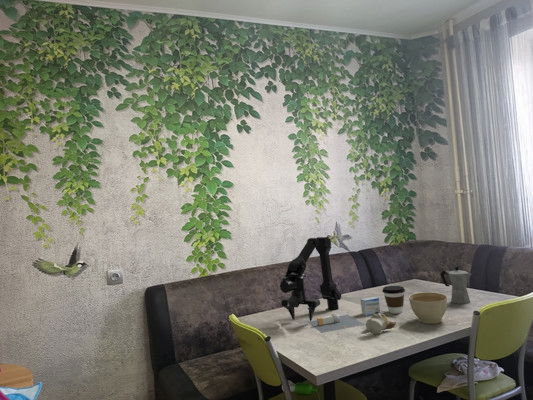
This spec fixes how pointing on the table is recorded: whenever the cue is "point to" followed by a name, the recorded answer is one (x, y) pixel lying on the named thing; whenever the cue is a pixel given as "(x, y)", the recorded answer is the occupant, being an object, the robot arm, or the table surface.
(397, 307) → the coffee cup
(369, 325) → the ceramic sculpture
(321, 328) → the dial board
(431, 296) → the planter bowl
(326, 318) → the white and tan block
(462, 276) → the coffeepot
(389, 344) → the table surface
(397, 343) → the table surface
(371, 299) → the medicine box
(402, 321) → the table surface
